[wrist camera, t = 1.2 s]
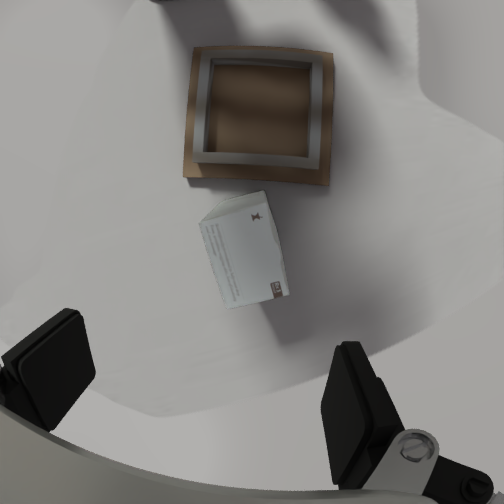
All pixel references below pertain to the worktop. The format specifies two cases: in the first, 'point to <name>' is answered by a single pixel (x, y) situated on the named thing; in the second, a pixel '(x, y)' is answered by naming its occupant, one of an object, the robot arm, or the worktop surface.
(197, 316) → the worktop surface
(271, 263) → the skincare box
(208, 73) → the tray
